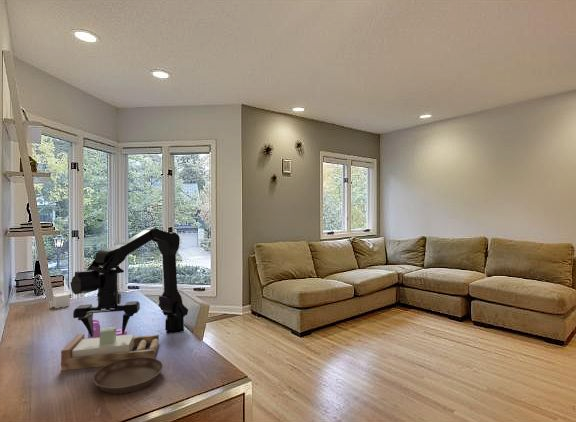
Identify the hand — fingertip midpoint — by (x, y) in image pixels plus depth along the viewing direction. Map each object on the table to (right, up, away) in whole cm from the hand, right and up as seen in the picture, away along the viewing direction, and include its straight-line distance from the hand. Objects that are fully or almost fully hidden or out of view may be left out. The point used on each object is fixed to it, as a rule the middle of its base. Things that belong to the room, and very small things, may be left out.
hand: (107, 335), depth 110 cm
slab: (-1, -5, 0) cm, 5 cm away
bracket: (-10, -8, +18) cm, 22 cm away
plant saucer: (+15, -7, -16) cm, 23 cm away
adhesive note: (-57, -8, +61) cm, 84 cm away
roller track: (+3, -7, +1) cm, 8 cm away
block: (0, -2, 0) cm, 2 cm away
